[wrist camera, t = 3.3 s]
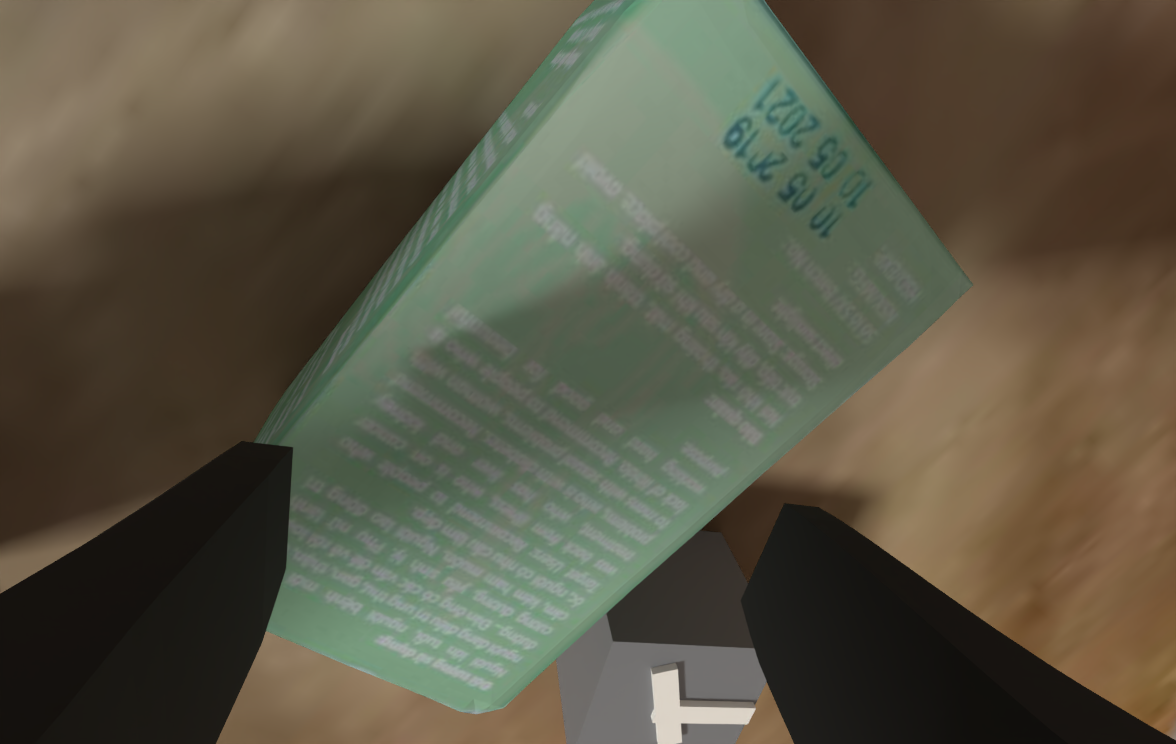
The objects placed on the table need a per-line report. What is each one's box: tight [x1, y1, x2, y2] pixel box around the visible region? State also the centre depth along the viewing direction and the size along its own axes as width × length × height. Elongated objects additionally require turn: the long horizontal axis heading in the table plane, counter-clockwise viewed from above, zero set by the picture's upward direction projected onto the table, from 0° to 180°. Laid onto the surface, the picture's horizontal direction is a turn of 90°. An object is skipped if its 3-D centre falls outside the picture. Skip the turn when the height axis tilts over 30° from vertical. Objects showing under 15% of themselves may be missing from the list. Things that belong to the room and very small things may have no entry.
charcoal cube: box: [556, 530, 767, 744], centre depth 19 cm, size 5×5×5 cm
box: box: [253, 0, 973, 714], centre depth 13 cm, size 7×14×8 cm, turn 137°
